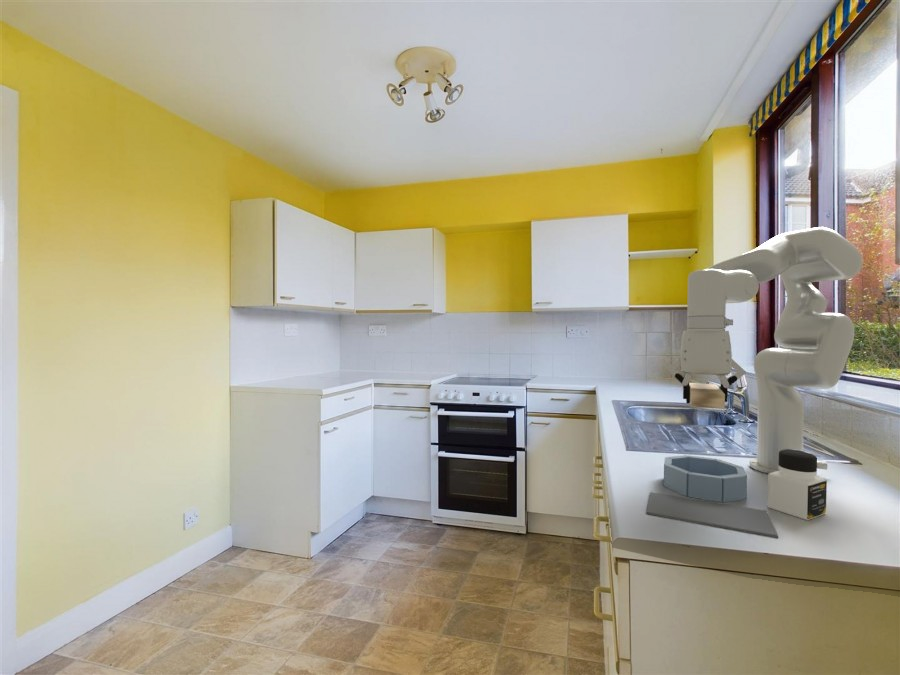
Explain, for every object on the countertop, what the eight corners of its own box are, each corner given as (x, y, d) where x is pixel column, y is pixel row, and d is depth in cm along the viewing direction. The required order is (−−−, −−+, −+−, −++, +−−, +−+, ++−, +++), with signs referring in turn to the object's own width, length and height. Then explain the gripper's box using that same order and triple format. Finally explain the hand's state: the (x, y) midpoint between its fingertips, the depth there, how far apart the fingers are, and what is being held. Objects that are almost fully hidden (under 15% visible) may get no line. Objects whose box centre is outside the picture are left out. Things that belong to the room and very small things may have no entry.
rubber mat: (766, 512, 87) (766, 510, 87) (778, 537, 77) (778, 535, 77) (650, 493, 97) (650, 491, 97) (646, 513, 86) (646, 511, 86)
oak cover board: (716, 396, 108) (716, 384, 108) (724, 409, 91) (724, 394, 91) (688, 394, 110) (688, 382, 110) (691, 406, 93) (691, 392, 93)
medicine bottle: (808, 521, 84) (809, 458, 83) (766, 507, 90) (768, 449, 90) (826, 514, 87) (828, 453, 87) (785, 501, 93) (786, 445, 93)
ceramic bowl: (740, 482, 105) (740, 461, 104) (749, 506, 90) (750, 482, 90) (665, 472, 112) (665, 452, 112) (662, 492, 98) (663, 470, 98)
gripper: (748, 324, 100) (747, 404, 100) (663, 324, 107) (662, 398, 108) (754, 324, 93) (752, 409, 93) (663, 324, 101) (662, 403, 101)
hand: (704, 402), depth 101 cm, fingers closed on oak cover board, 6 cm apart
